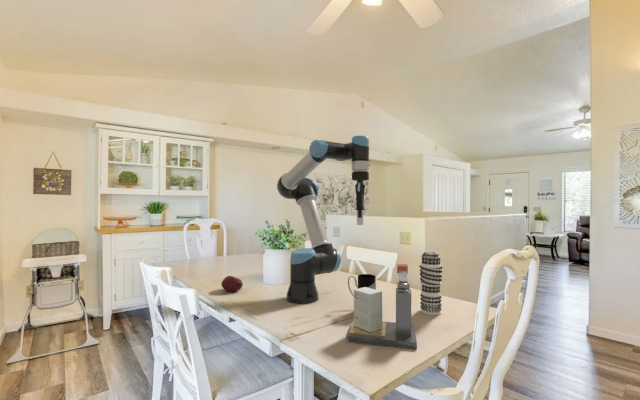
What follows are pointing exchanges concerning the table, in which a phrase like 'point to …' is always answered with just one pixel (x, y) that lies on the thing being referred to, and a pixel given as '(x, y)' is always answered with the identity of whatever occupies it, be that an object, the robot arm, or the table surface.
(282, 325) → the table surface
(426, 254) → the decorative candle
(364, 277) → the glass holder
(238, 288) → the heart
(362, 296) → the small box
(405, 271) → the lever
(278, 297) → the table surface
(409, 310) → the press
